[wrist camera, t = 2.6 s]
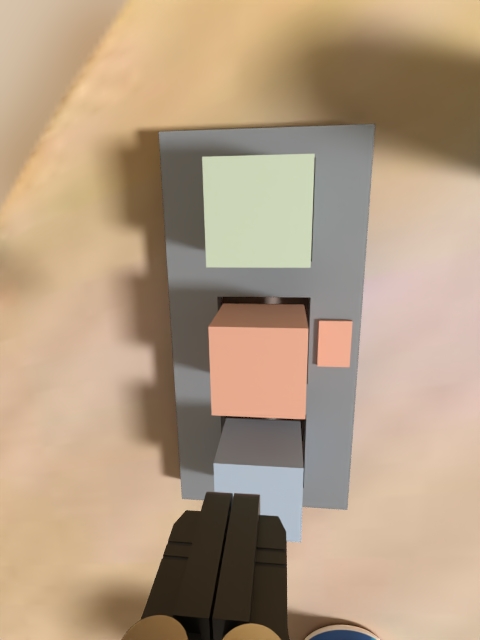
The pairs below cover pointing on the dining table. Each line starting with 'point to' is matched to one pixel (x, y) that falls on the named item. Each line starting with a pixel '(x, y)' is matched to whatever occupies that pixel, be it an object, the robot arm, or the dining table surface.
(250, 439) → the slate-blue block
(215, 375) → the terracotta block
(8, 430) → the dining table surface
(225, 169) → the sage block
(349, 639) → the beverage bottle
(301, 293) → the slate board
